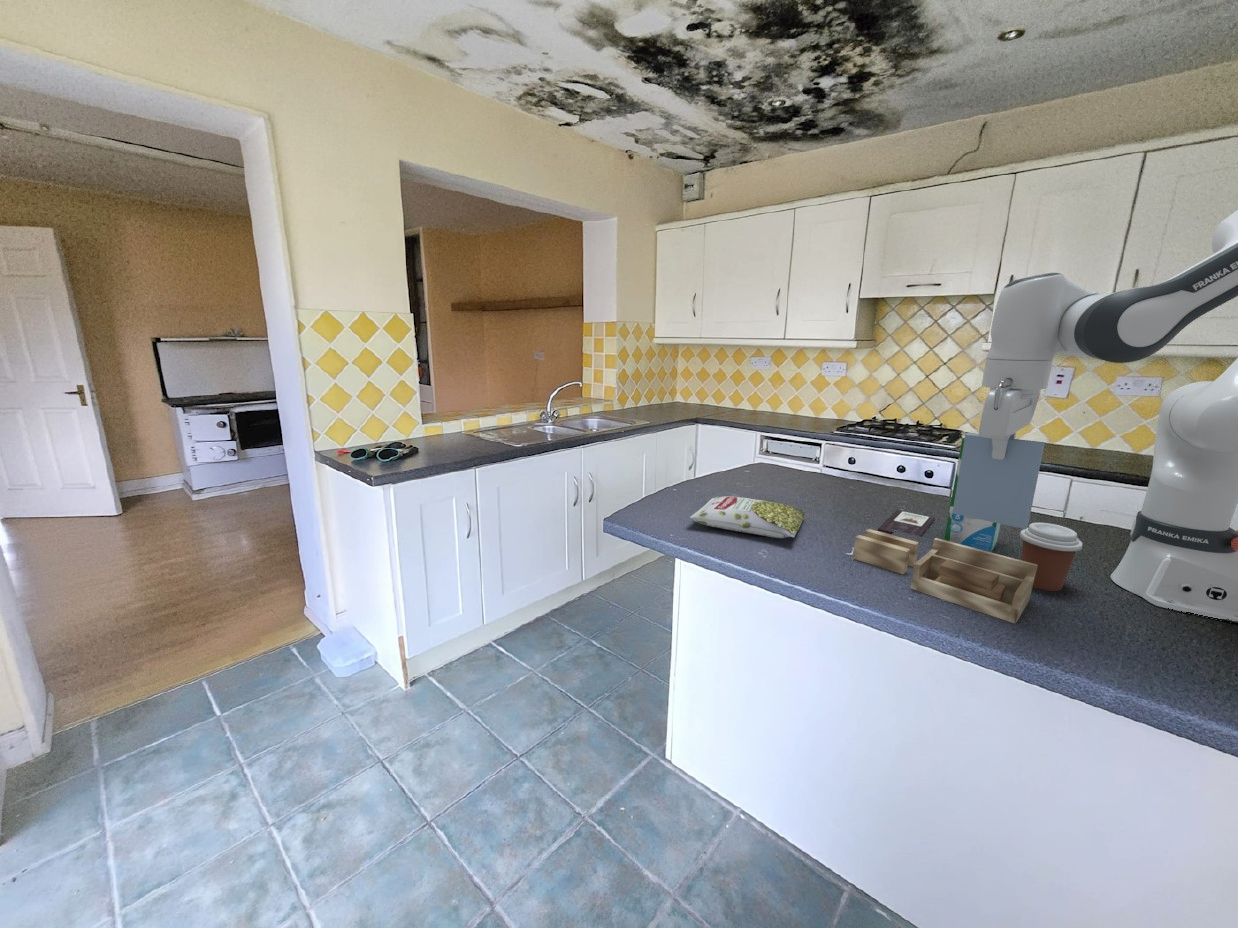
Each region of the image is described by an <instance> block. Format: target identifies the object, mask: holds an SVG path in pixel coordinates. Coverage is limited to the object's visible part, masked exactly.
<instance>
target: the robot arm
mask: <svg viewBox="0 0 1238 928" xmlns="http://www.w3.org/2000/svg"><path fill="white" fill-rule="evenodd" d="M1211 244H1212V245H1211V247H1212V251H1213V254H1211V255H1209V256H1208V257H1206V258H1204V259H1202V260H1200V261H1198V262H1197V263H1195V264H1193V265H1192V266H1190V267H1188V268H1186V269H1183V270H1182V271H1181V272H1179V273H1177V274H1176V275H1174V276H1172V277H1170V278H1168V279H1166V280H1165V281H1162V282H1160V283H1157V284H1155V285H1149V286H1143V287H1136V288H1130V289H1125V290H1121V291H1116V292H1115V291H1114V292H1106V293H1099V292H1097V291H1093V290H1091V289H1087V288H1085V287H1082V286H1080V285H1078V284H1076V283H1074V282H1073V281H1071V280H1069V279H1068V278H1066V276H1065V275H1064V274H1063V273H1059V272H1049V273H1041V274H1038V275H1037V274H1036V275H1031V276H1027V277H1022V278H1018V279H1014V280H1012V281H1011V282H1008V283H1007V284H1006V285H1005V286H1004V287H1003V288H1002V290H1001V291H1000V294H999V296H998V299H997V302H996V305H995V309H994V313H993V317H992V318H993V319H992V322H991V328H990V338H991V344H990V348H989V349H988V352H987V354H986V359H985V363H984V370H983V375H982V381H981V386H982V387H985V388H989V391H988V393H987V395H986V397H985V400H984V403H983V408H982V414H981V418H980V422H979V426H978V427H979V428H978V435H980V437H984V438H991V439H992V445H993V451H992V458H993V459H1000V460H1002V459H1004V458H1005V457H1006V453H1007V444H1008V440H1009V438H1012V439H1016V437H1017V432H1018V431H1020V430H1022V429H1024V428H1026V427H1027V426H1029V425H1030V424H1031V423H1032V422H1031V421H1032V420H1033V418H1034V414H1035V411H1036V409H1037V405H1038V402H1039V398H1040V395H1041V391H1042V390H1046V389H1048V385H1049V381H1050V376H1051V371H1052V365H1053V360H1054V357H1055V355H1056V354H1057V353H1060V354H1063V355H1066V356H1070V357H1078V358H1086V359H1087V358H1088V359H1097V360H1101V361H1104V362H1109V363H1115V364H1126V363H1133V362H1137V361H1141V360H1143V359H1146V358H1149V357H1150V356H1152V355H1154V354H1156V353H1157V352H1158V351H1160V350H1161V349H1163V348H1164V347H1166V345H1168V343H1170V342H1171V341H1172V340H1174V338H1175V337H1176V336H1177V335H1178V334H1179V333H1180V332H1181V331H1183V330H1184V329H1185V328H1186V327H1187V326H1188V325H1190V324H1191V323H1192V322H1194V321H1195V320H1198V318H1200V317H1201V316H1203V315H1205V314H1207V313H1209V312H1211V311H1213V310H1214V309H1216V308H1218V307H1220V306H1222V305H1224V304H1225V303H1228V302H1229V301H1232V300H1233V299H1235V298H1237V297H1238V209H1237V210H1235V211H1234V212H1232V213H1231V214H1230V215H1228V216H1227V217H1226V218H1224V219H1223V220H1221V221H1220V222H1219V223H1218V225H1217V227H1216V229H1215V231H1214V234H1213V236H1212V241H1211ZM1158 412H1159V414H1158V420H1157V428H1156V432H1155V438H1154V445H1153V446H1154V448H1153V460H1152V468H1151V473H1150V476H1149V477H1150V478H1149V482H1148V486H1147V488H1146V492H1145V496H1144V499H1143V502H1142V506H1141V510H1139V511H1138V512H1137V513H1136V516H1135V517H1134V519H1133V523H1132V525H1131V526H1132V527H1131V530H1130V542H1129V545H1128V547H1127V549H1126V552H1125V554H1124V555H1123V557H1122V559H1121V561H1120V563H1119V564H1118V565H1117V567H1116V568H1115V569H1114V571H1113V572H1112V573H1111V574H1110V579H1111V580H1112V582H1114V583H1115V584H1116V585H1118V586H1119V587H1121V588H1122V589H1124V590H1126V591H1129V592H1130V593H1132V594H1134V595H1137V596H1139V597H1142V598H1143V599H1144V600H1146V601H1147V602H1148V603H1150V604H1152V605H1154V606H1157V607H1160V608H1164V609H1168V608H1169V609H1168V610H1172V609H1173V611H1178V612H1181V611H1182V613H1186V612H1191V613H1194V614H1193V615H1195V614H1198V615H1197V616H1199V615H1203V616H1202V617H1204V616H1208V617H1213V618H1218V619H1229V620H1232V621H1238V530H1237V529H1236V530H1235V529H1233V528H1232V527H1230V526H1231V523H1232V520H1233V519H1234V518H1233V517H1234V515H1235V511H1236V508H1237V505H1238V357H1237V358H1236V359H1235V360H1234V361H1233V362H1232V363H1231V365H1229V367H1227V368H1226V370H1224V371H1223V372H1222V373H1221V374H1220V375H1219V376H1218V377H1217V378H1216V379H1215V380H1204V381H1203V380H1202V381H1197V382H1192V383H1188V384H1185V385H1182V386H1180V387H1178V388H1175V389H1174V390H1172V391H1171V392H1169V393H1168V394H1167V395H1166V396H1165V397H1164V398H1163V400H1162V401H1161V403H1160V406H1159V411H1158ZM1208 617H1207V618H1208ZM1213 618H1212V619H1213Z"/></svg>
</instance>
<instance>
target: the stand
mask: <svg viewBox="0 0 1238 928" xmlns="http://www.w3.org/2000/svg"><path fill="white" fill-rule="evenodd" d="M854 537H855V538H854V543H853V545H854V546H853V552H852V559H851V561H852V562H853V561H854V560H857V561H860V562H863V563H865V564H870V565H872V566H876V567H878V568H881V569H885V570H887V571H891V572H895V573H897V574H900V575H904V574H905V573H907V572H908V566H909V567H913V568H914V564H915V563H916V562H917V558H918V550H919V546H920V542H918V541H915V540H912V539H908V538H904V537H900V536H896V535H893V534H888V533H884V532H880V531H878V530H874V529H871V528H868V529H866V530H865V531H864V535H861V534H858V535H856V536H854Z"/></svg>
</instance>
